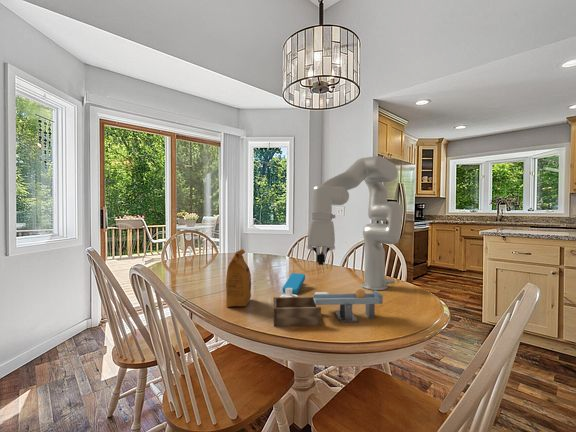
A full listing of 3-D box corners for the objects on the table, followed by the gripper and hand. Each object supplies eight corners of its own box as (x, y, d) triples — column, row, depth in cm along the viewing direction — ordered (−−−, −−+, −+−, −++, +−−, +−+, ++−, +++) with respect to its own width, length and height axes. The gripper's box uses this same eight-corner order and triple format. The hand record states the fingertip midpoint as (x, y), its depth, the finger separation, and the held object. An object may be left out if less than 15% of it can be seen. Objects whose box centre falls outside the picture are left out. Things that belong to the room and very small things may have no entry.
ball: (365, 295, 107) (362, 287, 107) (368, 299, 104) (365, 289, 104) (356, 298, 107) (353, 289, 107) (358, 301, 104) (356, 292, 103)
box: (315, 312, 110) (315, 296, 110) (320, 325, 98) (320, 307, 98) (273, 313, 109) (273, 297, 109) (273, 326, 97) (273, 308, 97)
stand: (368, 311, 111) (368, 296, 111) (377, 321, 101) (377, 305, 101) (334, 311, 110) (334, 296, 110) (340, 322, 100) (340, 305, 100)
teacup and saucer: (291, 302, 122) (291, 292, 122) (275, 299, 126) (275, 290, 126) (301, 296, 130) (301, 287, 129) (286, 293, 134) (286, 285, 134)
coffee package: (254, 298, 125) (254, 248, 125) (246, 309, 113) (246, 253, 112) (232, 298, 127) (232, 248, 126) (222, 308, 114) (222, 252, 114)
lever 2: (370, 293, 115) (370, 285, 115) (382, 303, 103) (382, 295, 103) (311, 294, 114) (311, 286, 114) (315, 305, 101) (315, 296, 101)
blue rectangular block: (297, 302, 133) (307, 282, 149) (296, 289, 131) (306, 270, 147) (283, 301, 136) (295, 281, 152) (282, 288, 134) (294, 269, 150)
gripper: (338, 217, 117) (337, 263, 117) (301, 216, 116) (300, 262, 116) (343, 218, 109) (341, 266, 109) (303, 217, 109) (302, 265, 109)
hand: (320, 264), depth 113 cm, fingers closed
